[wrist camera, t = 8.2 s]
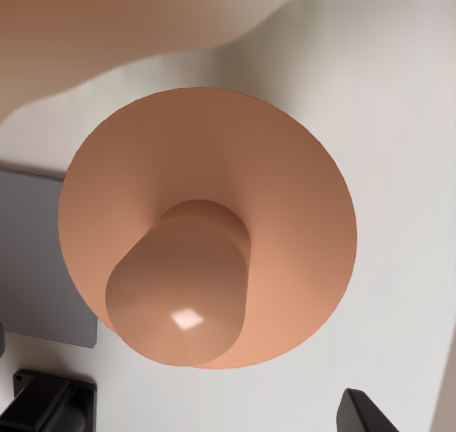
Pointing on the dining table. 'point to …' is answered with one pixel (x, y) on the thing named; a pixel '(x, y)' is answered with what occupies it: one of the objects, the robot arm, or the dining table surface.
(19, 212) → the mat
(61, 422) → the robot arm
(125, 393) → the dining table surface
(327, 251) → the lid
